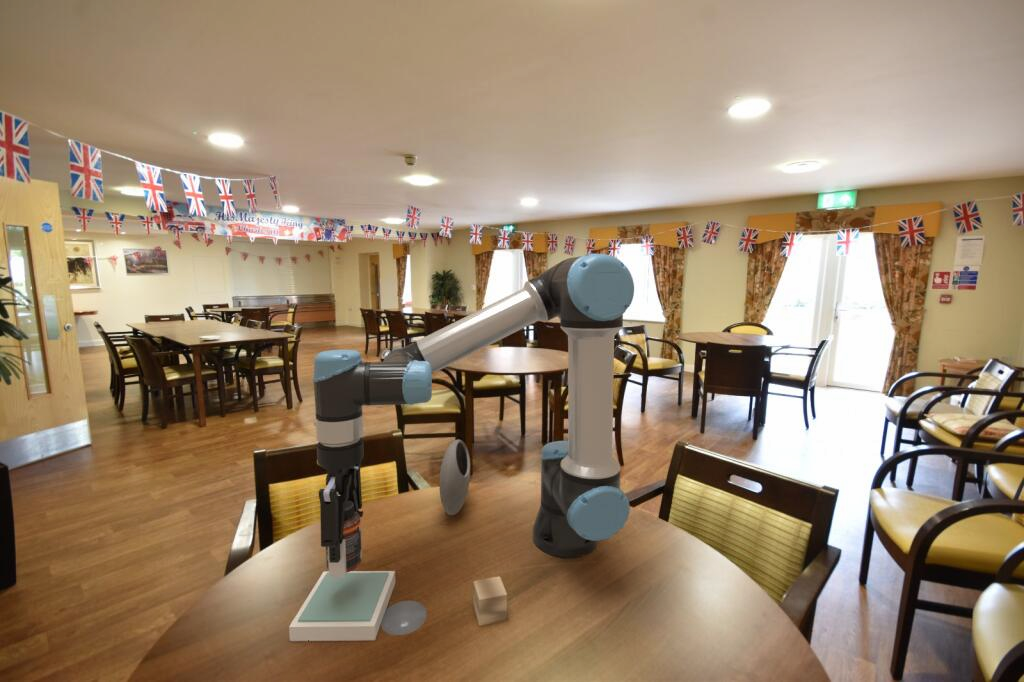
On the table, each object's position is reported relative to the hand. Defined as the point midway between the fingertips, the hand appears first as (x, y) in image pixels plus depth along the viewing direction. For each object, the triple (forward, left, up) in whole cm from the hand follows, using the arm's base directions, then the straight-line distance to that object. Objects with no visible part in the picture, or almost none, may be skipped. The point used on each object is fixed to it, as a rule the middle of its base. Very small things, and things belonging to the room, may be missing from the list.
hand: (344, 563), depth 77 cm
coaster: (-11, +2, -10) cm, 15 cm away
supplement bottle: (0, 0, 0) cm, 0 cm away
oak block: (-26, +1, -9) cm, 28 cm away
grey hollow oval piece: (-16, -35, -9) cm, 40 cm away
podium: (0, 0, -9) cm, 9 cm away
